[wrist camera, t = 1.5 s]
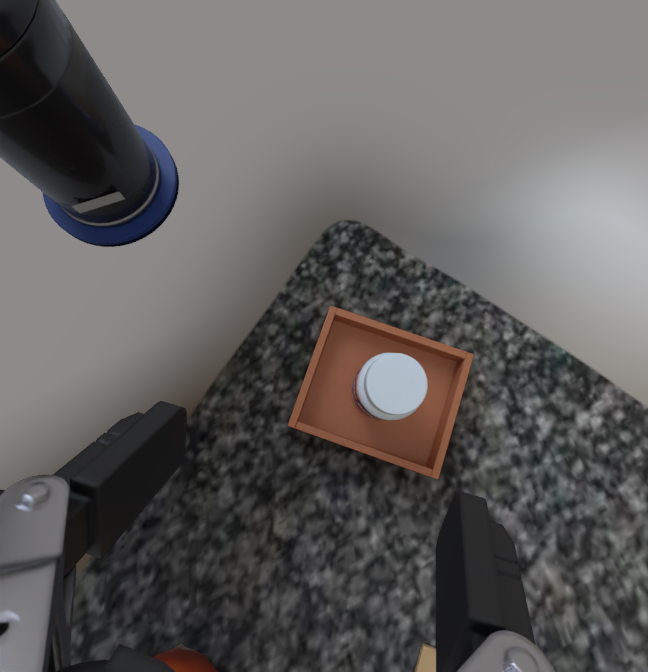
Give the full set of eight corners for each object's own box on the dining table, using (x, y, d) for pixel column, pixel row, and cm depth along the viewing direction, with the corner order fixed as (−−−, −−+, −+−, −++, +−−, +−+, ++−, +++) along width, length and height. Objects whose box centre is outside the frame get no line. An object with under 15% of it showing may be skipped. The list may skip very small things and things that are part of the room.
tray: (289, 425, 36) (287, 425, 33) (329, 312, 37) (330, 305, 35) (430, 475, 35) (438, 479, 33) (464, 358, 37) (474, 354, 34)
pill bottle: (340, 377, 36) (347, 366, 28) (391, 353, 36) (412, 334, 28) (366, 429, 35) (380, 433, 27) (417, 404, 36) (447, 400, 27)
